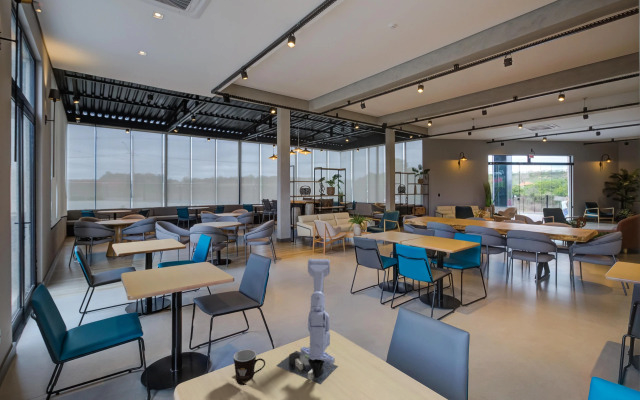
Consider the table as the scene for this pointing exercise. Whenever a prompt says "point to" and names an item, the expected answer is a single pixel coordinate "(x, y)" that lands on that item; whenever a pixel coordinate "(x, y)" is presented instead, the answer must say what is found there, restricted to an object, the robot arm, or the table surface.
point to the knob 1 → (295, 360)
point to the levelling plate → (305, 372)
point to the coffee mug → (245, 365)
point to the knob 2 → (311, 375)
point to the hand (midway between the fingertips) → (316, 376)
